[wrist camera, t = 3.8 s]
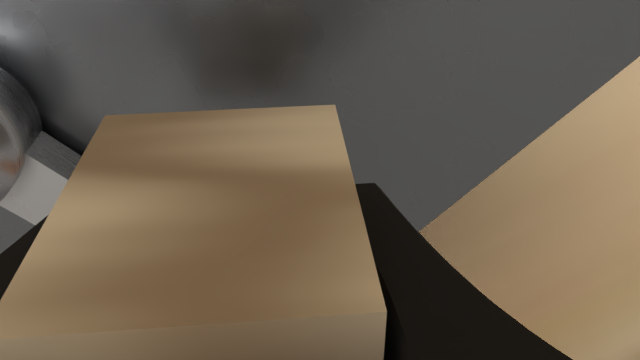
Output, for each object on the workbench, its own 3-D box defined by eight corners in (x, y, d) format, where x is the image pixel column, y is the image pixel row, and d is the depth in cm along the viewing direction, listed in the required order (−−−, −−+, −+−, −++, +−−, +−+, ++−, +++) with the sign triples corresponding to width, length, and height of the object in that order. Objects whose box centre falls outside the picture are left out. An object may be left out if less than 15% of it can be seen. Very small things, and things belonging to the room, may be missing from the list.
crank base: (234, 353, 22) (232, 383, 21) (-222, 103, 15) (-264, 126, 14) (641, 20, 16) (672, 36, 15) (181, -652, 9) (168, -725, 8)
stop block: (146, 286, 12) (79, 543, 7) (104, 115, 10) (-23, 340, 5) (334, 274, 12) (372, 516, 8) (335, 104, 10) (387, 311, 6)
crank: (-137, 122, 14) (-323, 255, 10) (-72, 18, 13) (-250, 117, 8) (235, 333, 19) (225, 483, 15) (306, 273, 18) (319, 417, 13)
